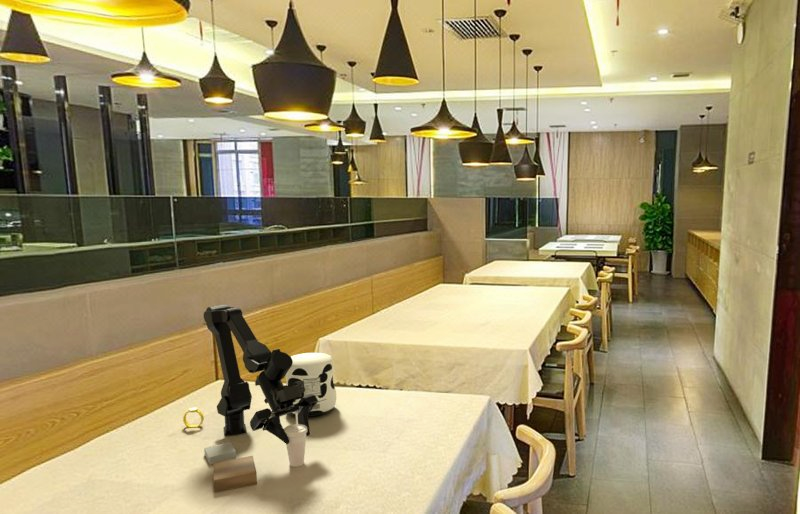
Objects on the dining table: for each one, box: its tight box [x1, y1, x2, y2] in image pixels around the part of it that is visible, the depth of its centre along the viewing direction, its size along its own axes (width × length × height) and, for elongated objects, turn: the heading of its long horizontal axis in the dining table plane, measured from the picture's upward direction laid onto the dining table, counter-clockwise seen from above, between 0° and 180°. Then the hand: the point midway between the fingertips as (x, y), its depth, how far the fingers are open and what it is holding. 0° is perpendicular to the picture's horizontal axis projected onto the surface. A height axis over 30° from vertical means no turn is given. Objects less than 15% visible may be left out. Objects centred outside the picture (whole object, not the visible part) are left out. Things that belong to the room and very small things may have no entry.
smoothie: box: [283, 412, 308, 468], centre depth 145 cm, size 6×6×14 cm
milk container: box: [285, 352, 337, 417], centre depth 183 cm, size 17×17×18 cm
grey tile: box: [203, 441, 237, 465], centre depth 151 cm, size 7×7×2 cm
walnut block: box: [212, 455, 258, 493], centre depth 138 cm, size 10×10×3 cm
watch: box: [182, 407, 205, 428], centre depth 173 cm, size 6×3×6 cm, turn 91°
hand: (298, 439), depth 144 cm, fingers closed on smoothie, 6 cm apart
